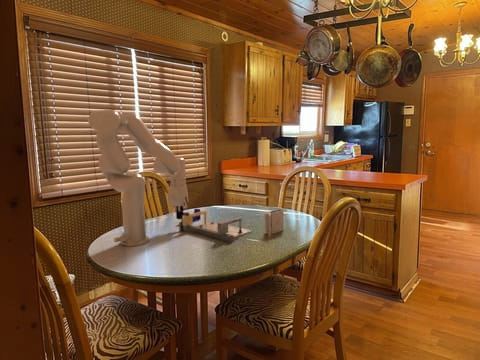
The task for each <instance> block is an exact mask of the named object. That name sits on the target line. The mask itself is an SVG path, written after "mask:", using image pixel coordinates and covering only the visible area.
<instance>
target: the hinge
mask: <svg viewBox="0 0 480 360" xmlns="http://www.w3.org/2000/svg"><path fill="white" fill-rule="evenodd" d="M282 231H284V209H274V210H270V211H266V212H265V213H264V233H265V234H266V235H268V237H271V236H272V234H275V233H279V232H282Z"/></svg>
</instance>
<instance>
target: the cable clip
mask: <svg viewBox="0 0 480 360" xmlns="http://www.w3.org/2000/svg"><path fill="white" fill-rule="evenodd" d="M197 212H201V208H194V209H193V213H197ZM183 215H185V212H184V211H183ZM201 218H202V217H201V215H198V216H194V217H192V219H193V223H194V222H196V221H199V220H200V221H201ZM180 220H181V221H180V222H182V221H183V220H182V219H180Z"/></svg>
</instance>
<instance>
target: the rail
mask: <svg viewBox="0 0 480 360" xmlns="http://www.w3.org/2000/svg"><path fill="white" fill-rule="evenodd" d="M196 226H197V225H193V224H192V225H188V226H183V221H182V222H181V221H179V222H178V227H179V229H178V230H179V232H185V233H190V234H193V235H197V236H200V237H201V236H202V237H204V238H209V239H212V240H217V241H221V242H224V243H228V244H231V243H234V237H233V235H230V234H226V233H225V234H223V235H220V234H218V232H217V231H213V230H209V229H205V228H200V227H196Z"/></svg>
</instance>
